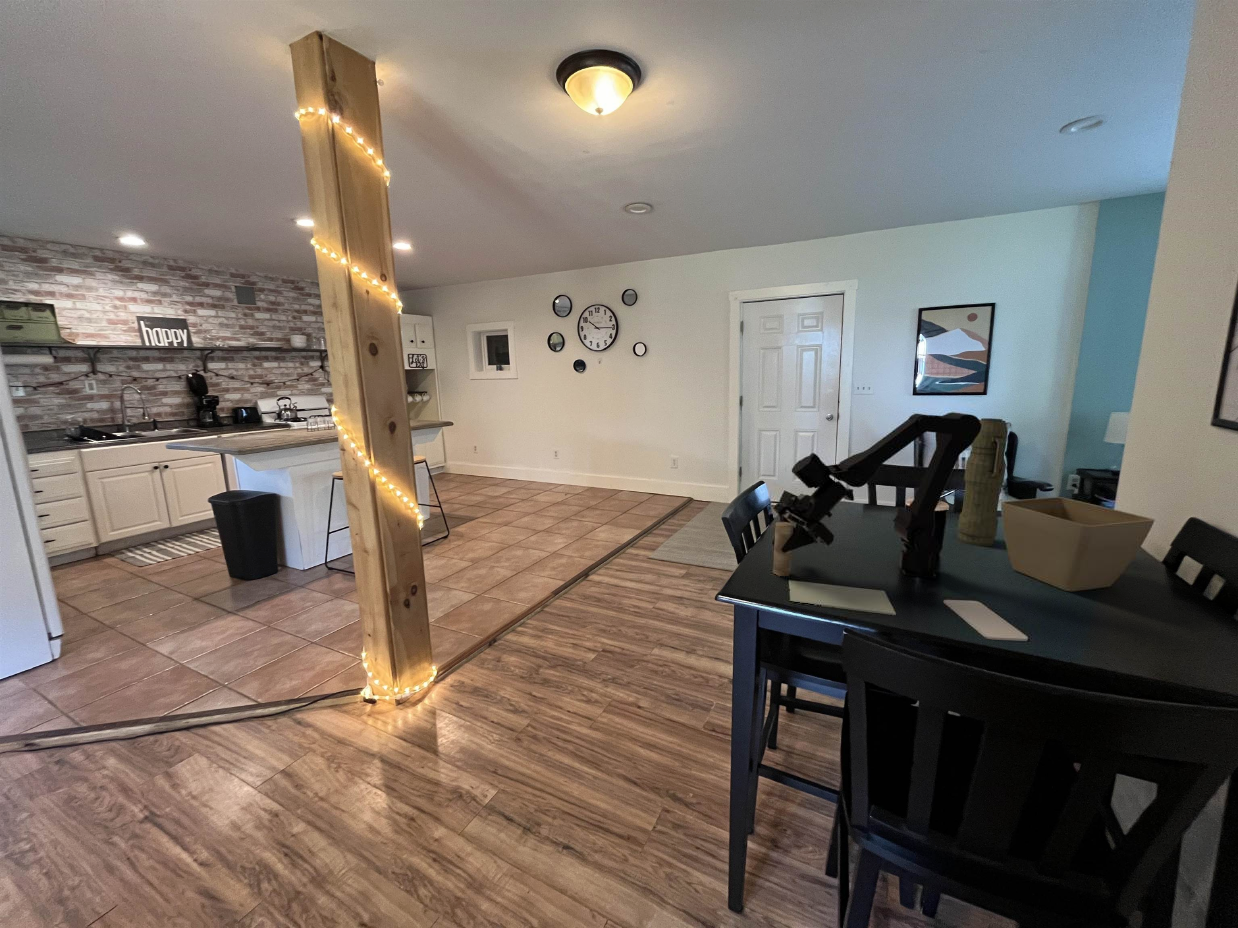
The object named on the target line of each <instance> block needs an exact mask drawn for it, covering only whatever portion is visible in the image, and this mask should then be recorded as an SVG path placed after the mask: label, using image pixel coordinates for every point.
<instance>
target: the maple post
mask: <svg viewBox="0 0 1238 928" xmlns="http://www.w3.org/2000/svg"><path fill="white" fill-rule="evenodd" d="M774 531H775V532H774V538H775V545H774V546H773V564H772V566H773V567H772V574H773V573H774V574H776V575H778V576H777V577H780V576H788V577H790V576H791V571H792V570H791V568H792V553H793V550H791V551H789V552H786V553H783V552H782V551H781V549H782V547H783V546H784V545H785V543H786V542H787V541H788V540H789V538H790V537H791V536H792V535H793V524H791V523H787V522H780V521H778V522H775V529H774ZM774 574H773V575H774ZM776 575H775V576H776ZM789 575H790V576H789Z"/></svg>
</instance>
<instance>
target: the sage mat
mask: <svg viewBox="0 0 1238 928" xmlns="http://www.w3.org/2000/svg"><path fill="white" fill-rule="evenodd" d="M788 588H789V589H790V591H789V602H790V601H793V602H800V603H799V604H801V603H809V604H814V605H813V606H817V605H819V606H818V607H825V608H826V607H827V608H833V607H834V609H842V610H850V611H859V612H865V613H874V614H875V613H876V614H881V615H889V616H891V615H892V616H896V614H897V613H896V611H895V609H894V607H893V605H892V603H891V602H890V599H889V597H888V595H887V594H886V591H885V590H878V589H870V588H860V587H852V586H843V585H833V584H826V583H817V582H816V583H815V582H808V581H801V580H799V581H797V580H788ZM793 602H792V603H793ZM809 604H808V605H809ZM820 605H821V606H820Z"/></svg>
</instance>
